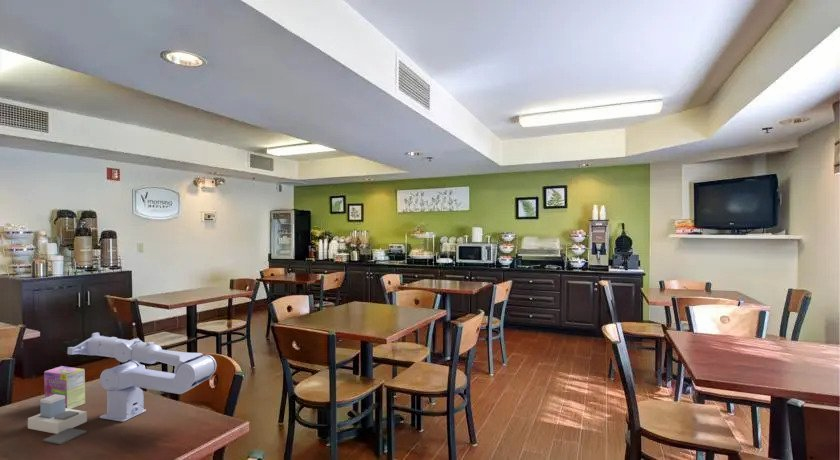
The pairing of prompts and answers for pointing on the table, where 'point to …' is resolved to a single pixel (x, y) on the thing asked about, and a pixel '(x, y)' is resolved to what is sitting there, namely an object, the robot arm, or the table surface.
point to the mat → (64, 436)
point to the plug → (52, 406)
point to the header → (58, 421)
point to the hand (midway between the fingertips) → (73, 342)
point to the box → (66, 385)
